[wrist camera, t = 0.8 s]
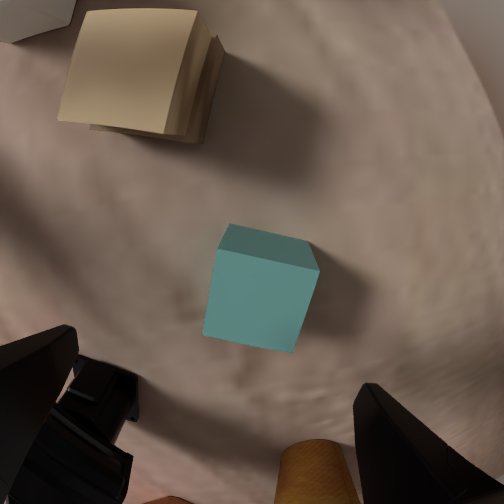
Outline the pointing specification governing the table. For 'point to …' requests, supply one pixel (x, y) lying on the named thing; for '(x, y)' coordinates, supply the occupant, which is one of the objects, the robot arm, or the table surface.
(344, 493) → the disposable coffee cup
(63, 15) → the medicine bottle
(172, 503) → the whiskey bottle
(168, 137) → the tower base
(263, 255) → the teal block
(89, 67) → the tower top
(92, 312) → the table surface
